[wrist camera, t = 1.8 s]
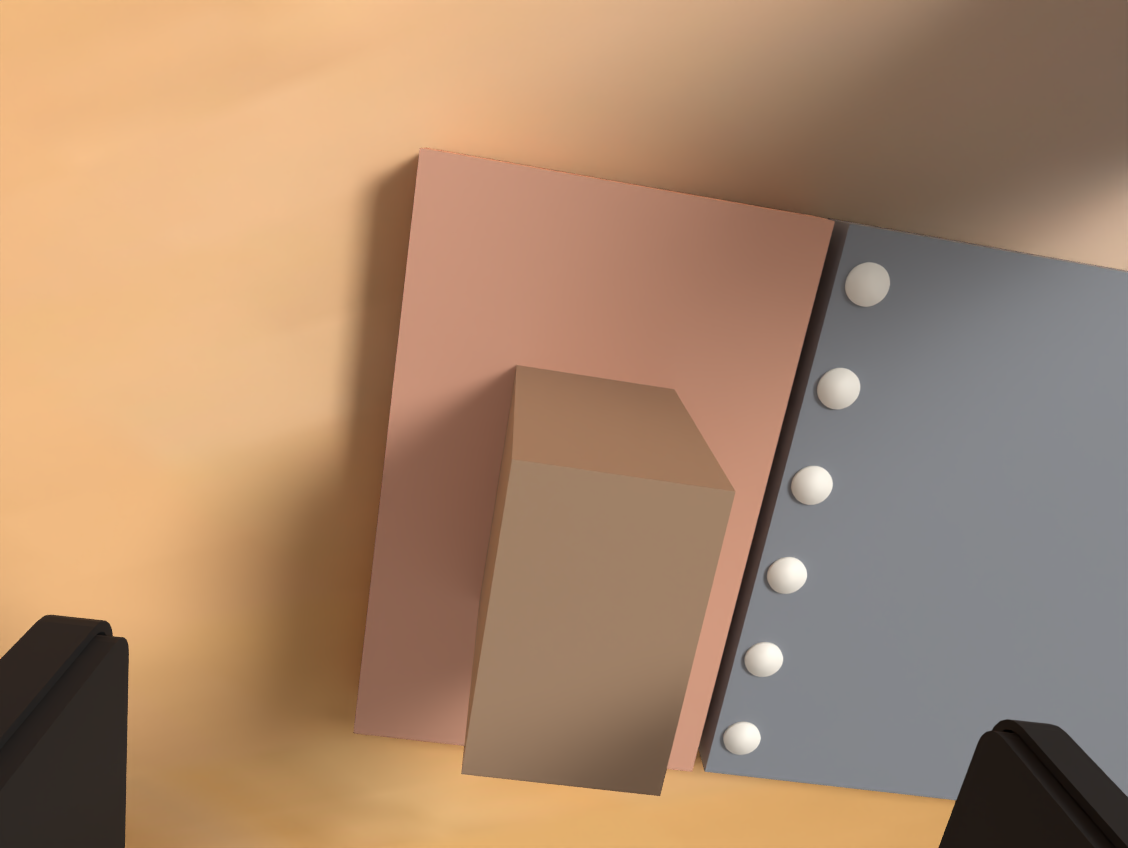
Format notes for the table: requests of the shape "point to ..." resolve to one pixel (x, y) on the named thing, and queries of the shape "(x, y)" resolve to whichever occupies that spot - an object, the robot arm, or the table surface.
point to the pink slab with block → (575, 465)
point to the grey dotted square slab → (937, 523)
